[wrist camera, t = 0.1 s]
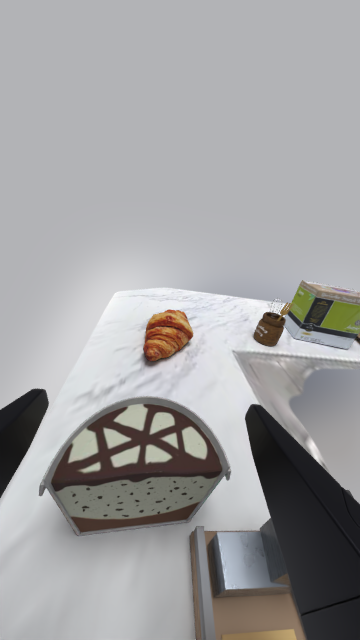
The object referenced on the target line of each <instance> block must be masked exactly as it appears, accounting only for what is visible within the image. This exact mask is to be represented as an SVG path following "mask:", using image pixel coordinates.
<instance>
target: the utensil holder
mask: <svg viewBox="0 0 360 640" xmlns="http://www.w3.org/2000/svg"><path fill="white" fill-rule="evenodd" d="M272 304H273V302H272ZM287 304H288V303H286V305H285V306H284V307H283V309H282V310H281V312H280V314H281V316H280V315H278V314H276V313H273V311H274V310H273V311H272V312H266V313H264V315H263V318H262V319H261V320H260V321H259V323H258V325H257V327H256V330H255V332H254V338H255V340H256V341H258V342H259V343H261V344H263V345H266V346H274V345H276V344H277V342H278V340H279V338H280V336H281V334H282V332H283V329H284V327H283V326H284V325H285V322H286V319H285V318H284V317H282V316H283V315H286V314H287V313H288V312H289V310H290V309H291V307H292V306H293V304H292V305H291V306H290V304H291V303H289V305H288V306H287ZM279 305H280V304H279ZM281 305H282V304H281ZM286 306H287V307H286ZM289 306H290V307H289ZM271 307H272V306H271ZM281 307H282V306H281ZM281 307H280V308H281ZM285 307H286V309H285ZM288 307H289V309H288ZM278 308H279V307H278ZM284 309H285V310H284ZM287 309H288V310H287ZM276 310H277V309H276ZM286 310H287V311H286ZM278 313H279V312H278Z"/></svg>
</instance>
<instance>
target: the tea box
mask: <svg viewBox="0 0 360 640" xmlns="http://www.w3.org/2000/svg"><path fill="white" fill-rule="evenodd" d="M292 304H293V306H292V307H291V309H290V310H289V312H288V313H287V314H286V316H285V319H286V322H285V325H284V326H285V327H286V329H287V330H288V331H289V332H290V334H291V335H292V336H293V337H294V338H295V339H300V340H304V341H310V342H314V343H319V344H324V345H329V346H334V347H339V348H344V349H349V347H350V346H351V344H352V343H353V341H354V340H355V338H356V337H357V335H358V334H359V333H360V293H359V292H357V291H354V290H352V289H347V288H342V287H336V286H330V285H325V284H320V283H314V282H309V281H303V280H302V282H301V284H300V286H299V288H298V290H297V292H296V294H295V296H294V299H293V301H292V303H291V305H292ZM291 305H290V306H291Z"/></svg>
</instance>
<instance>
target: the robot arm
mask: <svg viewBox="0 0 360 640" xmlns="http://www.w3.org/2000/svg"><path fill="white" fill-rule="evenodd" d="M48 404H49V402H48V398H47V393H46V390H44V389H32V390H31V391H29V392H27V393H26V394H25V395H23V396H21V397H20V398H18V399H16V400H15V401H13V402H12V403H10V404H9V405H7V406H6V407H4V408H2V409H1V410H0V498H1V496H2V494H3V492H4V491H5V489H6V487H7V485H8V484H9V482H10V480H11V479H12V477H13V475H14V473H15V472H16V470H17V468H18V467H19V465H20V463H21V461H22V460H23V458H24V456H25V454H26V453H27V451H28V449H29V447H30V445H31V443H32V441H33V439H34V437H35V434H36V432H37V430H38V428H39V426H40V423H41V421H42V419H43V417H44V415H45V413H46V410H47V408H48ZM245 421H246V426H247V431H248V436H249V441H250V446H251V451H252V455H253V459H254V463H255V466H256V469H257V473H258V476H259V479H260V483H261V486H262V489H263V493H264V496H265V499H266V503H267V506H268V509H269V513H270V516H271V520H272V523H273V526H274V530H275V533H276V536H277V540H278V543H279V546H280V550H281V553H282V556H283V560H284V563H285V566H286V570H287V573H288V577H289V580H290V583H291V587H292V590H293V593H294V597H295V600H296V603H297V607H298V610H299V613H300V617H301V621H302V624H303V627H304V631H305V634H306V637H307V640H360V504H359V503H358V502H357V501H356V500H355V499H354V498H353V497H352V496H351V495H350V494H349V493H348V492H347V491H346V490H345V489H344V488H342V487H341V486H340V484H339V483H338V482H337V481H336V480H335V479H334V478H333V477H332V476H331V475H330V474H329V473H328V472H327V471H326V470H325V469H324V468H323V467H322V466H321V465H320V464H319V463H318V462H317V461H316V460H315V459H314V458H313V457H312V456H311V455H310V454H309V453H308V452H307V451H306V450H305V449H304V448H303V447H302V446H301V445H300V444H299V443H298V442H297V441H296V440H295V439H294V438H293V437H292V436H291V435H290V434H289V433H288V432H287V431H286V430H285V429H284V428H283V427H282V426H281V425H280V424H279V423H278V422H277V421H276V420H275V419H274V418H273V417H272V416H271V415H270V414H269V413H268V412H267V411H266V410H265V409H264V408H263V407H262V406H261V405H258V404H252V405H250V407H249V409H248V411H247V413H246V416H245Z"/></svg>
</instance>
